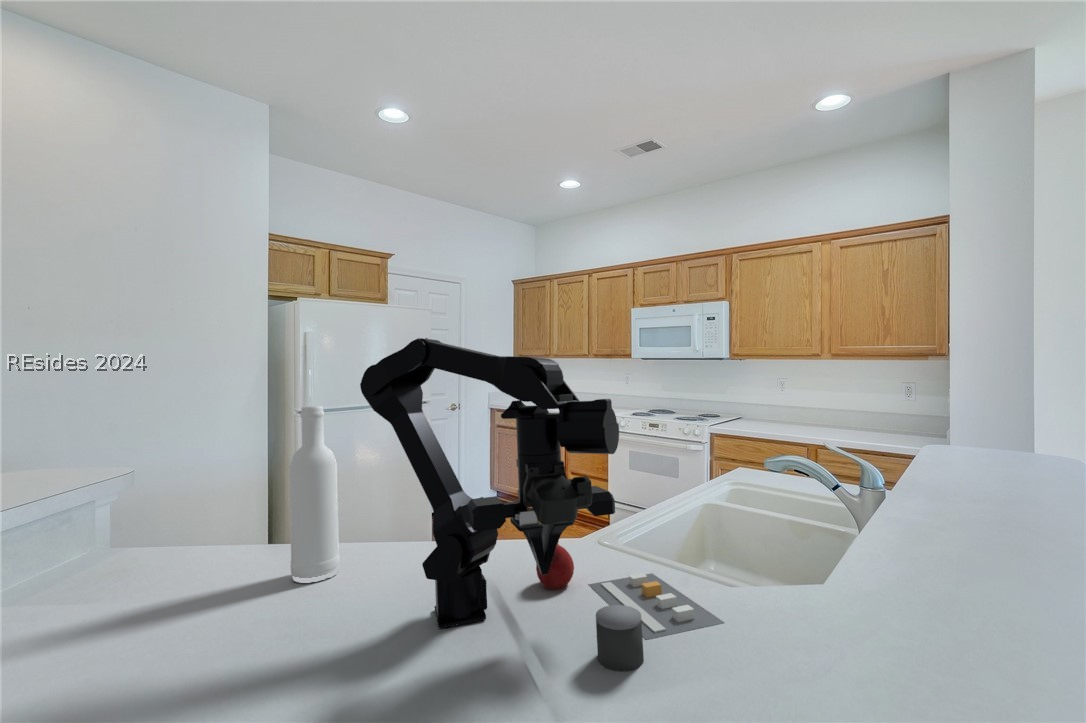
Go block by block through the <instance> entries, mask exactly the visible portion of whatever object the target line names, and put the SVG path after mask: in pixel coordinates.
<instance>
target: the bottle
mask: <svg viewBox="0 0 1086 723" xmlns="http://www.w3.org/2000/svg"><path fill="white" fill-rule="evenodd" d="M300 412H301V413H300V418H301V446H300V448H298V449H297V451H296V452H295V453H294V454H293V456H292V458H291V461H290V464H289V511H290V513H289V515H290V516H289V517H290V518H289V519H290V574H292V576H294V577H299V578H312V577H318V576H322V575H326V574H328V573H331V572H333V571H335V570H336V569H338V567H339V568H340V564H341V561H340V559H341V558H340V556H341V555H340V547H339V545H340V543H339V542H340V539H339V537H340V535H339V498H338V497H339V496H338V493H339V492H338V462H337V460H336V456H335V454H334V452H333V451H332V449H330V448H329V447H328V446H327V445H325V429H324V428H325V427H324V426H325V425H324V423H325V422H324V417H325V412H324V406H322V405H313V406H312V405H311V406H302V407H301V410H300Z"/></svg>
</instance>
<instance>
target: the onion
mask: <svg viewBox="0 0 1086 723" xmlns="http://www.w3.org/2000/svg"><path fill="white" fill-rule="evenodd" d="M559 541H560V540H559ZM559 541H558V543H557V546H556V549H555V552H554V556H553V559H552V563H551V566H550V569H549V573H548V574H547V575H542V574H541V573H540V571H539V569H538V566H537V563H536V564H535V566H536V567H535V569H536V576H537V578H538V580H539V582H540V583H541V584H542V585H543V586H544V587H545V588H547V589H550V590H559V589H563V588H565V587H566V586H567V585H568V584H569V583H570V582H571V580H572V578H573V575H574V572H575V566H574V565H575V564H574V561H573V558H572V556H571V554H570V552H568V550H567V549H566V548H565V547H564V546H562V545H559Z"/></svg>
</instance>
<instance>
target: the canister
mask: <svg viewBox="0 0 1086 723" xmlns="http://www.w3.org/2000/svg"><path fill="white" fill-rule="evenodd" d="M595 625H596V626H595V628H596V644H597V646H596V649H597V661H598V663H599V664H600V665H601V666H602V667H604V669H607V670H610V671H613V672H623V673H624V672H630V671H635V670H638V668H640V667H641V666H643V664H644V659H645V657H644V644H643V643H644V641H643V639H644V638H643V637H642V619H641V613H640V612H639V611H638V610H637V609H635V608H632V607H629V606H624V605H611V606H610V605H606V606H603V607H600V608H599V609H598V610H597V611H596V613H595Z"/></svg>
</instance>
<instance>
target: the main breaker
mask: <svg viewBox="0 0 1086 723" xmlns="http://www.w3.org/2000/svg"><path fill="white" fill-rule="evenodd" d="M642 594H643V595H644V596H646V597H652V596H657V595H662V589H661V584H660V583H658V582H657V581H654V582H649V583H643V584H642Z"/></svg>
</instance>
